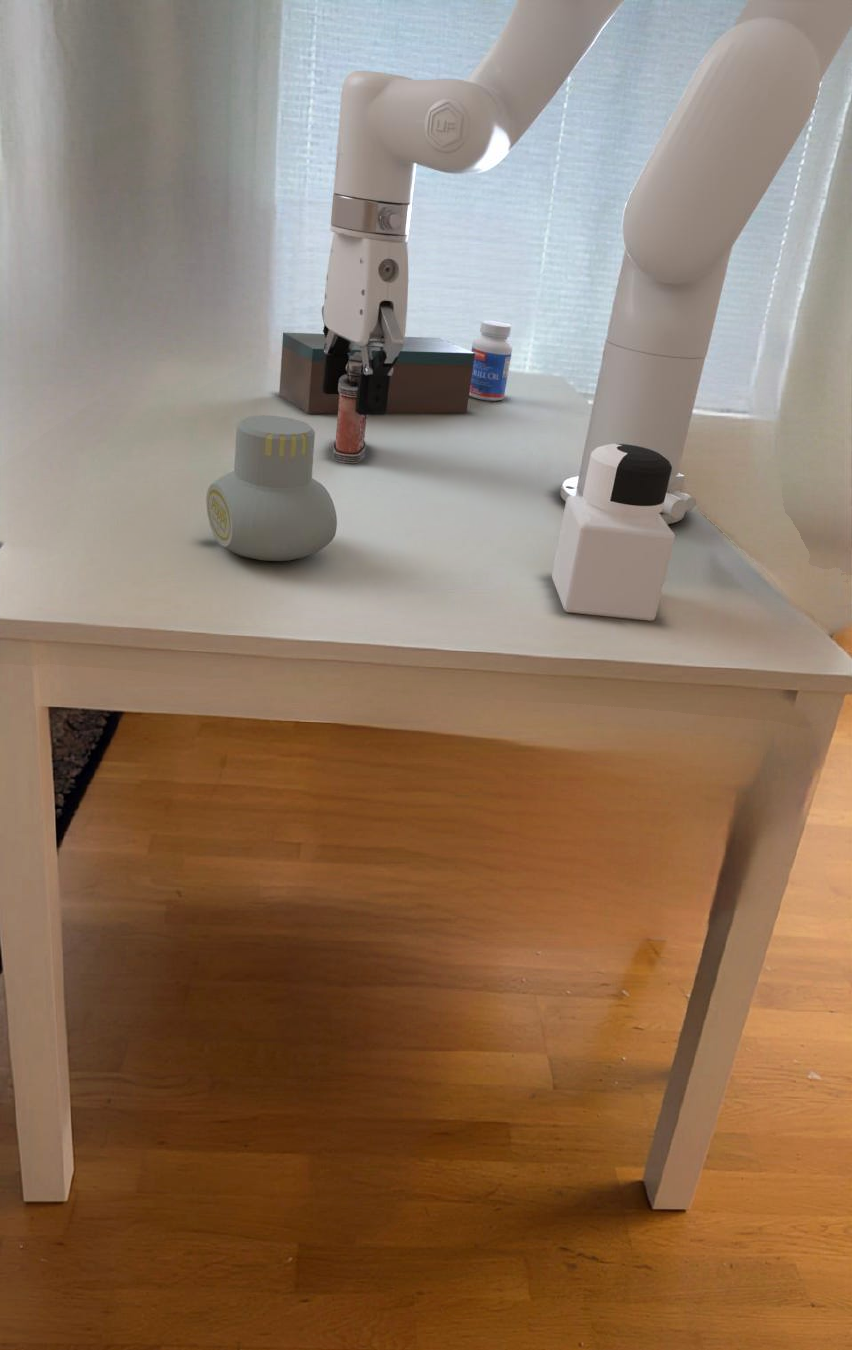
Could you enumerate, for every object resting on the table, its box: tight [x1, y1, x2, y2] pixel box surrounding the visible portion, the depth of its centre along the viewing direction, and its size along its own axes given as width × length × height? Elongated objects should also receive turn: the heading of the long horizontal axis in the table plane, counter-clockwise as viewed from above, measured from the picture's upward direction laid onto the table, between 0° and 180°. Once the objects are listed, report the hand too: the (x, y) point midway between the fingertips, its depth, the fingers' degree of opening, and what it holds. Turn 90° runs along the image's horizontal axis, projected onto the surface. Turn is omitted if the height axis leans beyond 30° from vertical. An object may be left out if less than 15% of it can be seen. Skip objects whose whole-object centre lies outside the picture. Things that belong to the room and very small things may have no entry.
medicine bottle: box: [551, 444, 676, 622], centre depth 81 cm, size 7×7×12 cm
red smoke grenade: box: [331, 352, 370, 464], centre depth 110 cm, size 8×3×10 cm, turn 179°
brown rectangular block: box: [278, 332, 475, 415], centre depth 132 cm, size 9×22×8 cm, turn 119°
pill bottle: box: [469, 319, 513, 402], centre depth 144 cm, size 6×5×10 cm
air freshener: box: [206, 415, 338, 562], centre depth 82 cm, size 11×8×10 cm
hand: (353, 402), depth 110 cm, fingers closed on red smoke grenade, 7 cm apart
